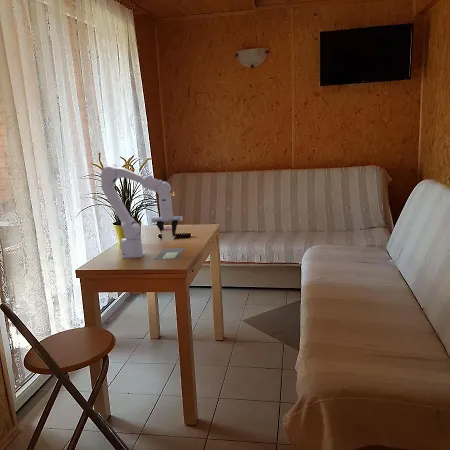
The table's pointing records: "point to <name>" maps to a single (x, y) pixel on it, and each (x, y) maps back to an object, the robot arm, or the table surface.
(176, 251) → the mat
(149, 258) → the table surface
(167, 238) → the card box
